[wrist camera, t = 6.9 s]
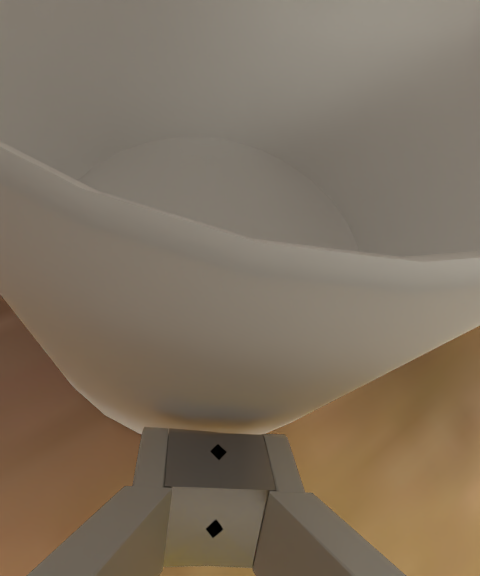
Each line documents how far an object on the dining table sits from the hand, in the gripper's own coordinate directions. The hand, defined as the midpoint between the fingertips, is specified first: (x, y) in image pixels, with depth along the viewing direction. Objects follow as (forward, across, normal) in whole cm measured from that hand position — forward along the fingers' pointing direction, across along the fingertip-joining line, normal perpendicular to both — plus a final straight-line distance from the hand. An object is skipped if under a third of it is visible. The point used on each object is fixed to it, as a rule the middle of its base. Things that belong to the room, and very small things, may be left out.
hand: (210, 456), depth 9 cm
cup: (+8, 0, -1) cm, 8 cm away
